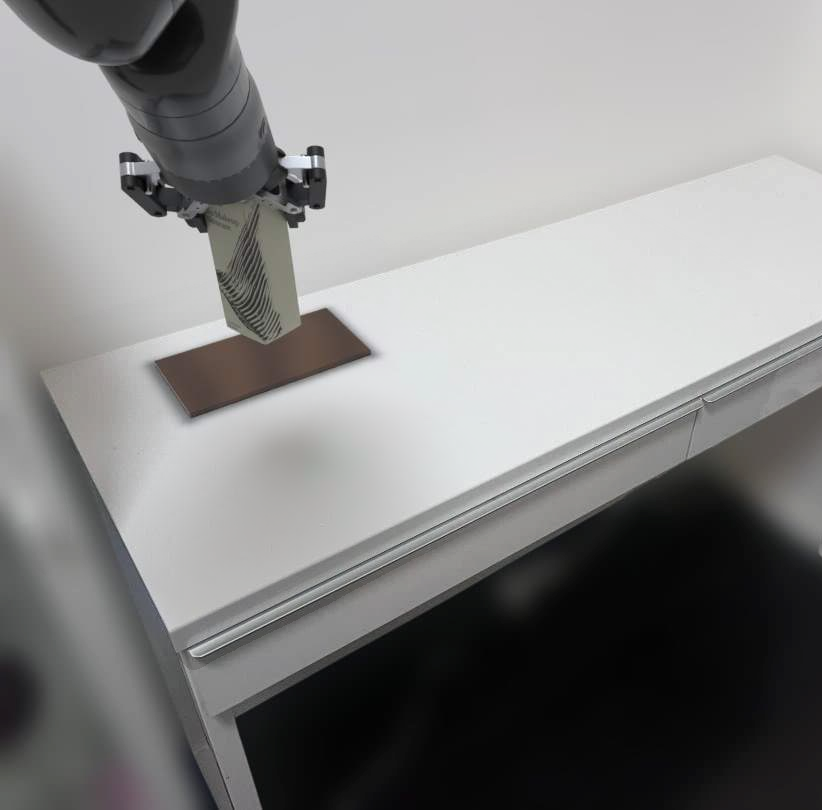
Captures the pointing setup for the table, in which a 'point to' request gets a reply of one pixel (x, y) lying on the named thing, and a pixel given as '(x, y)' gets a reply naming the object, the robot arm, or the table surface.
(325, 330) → the walnut board
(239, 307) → the box
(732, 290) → the table surface
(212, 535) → the table surface
